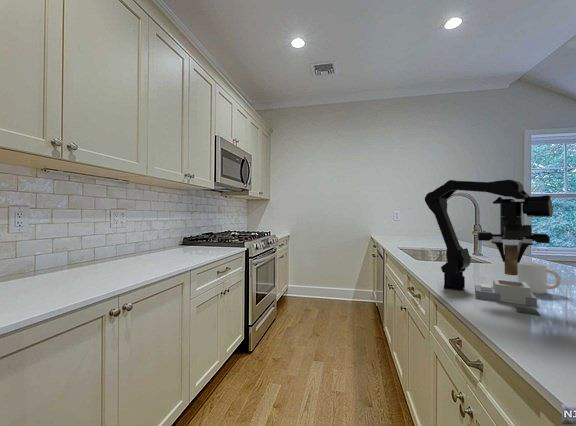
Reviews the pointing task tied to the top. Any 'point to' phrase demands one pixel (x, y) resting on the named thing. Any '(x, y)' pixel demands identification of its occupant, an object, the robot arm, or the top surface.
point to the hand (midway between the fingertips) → (511, 262)
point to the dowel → (511, 259)
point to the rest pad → (527, 310)
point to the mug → (536, 276)
